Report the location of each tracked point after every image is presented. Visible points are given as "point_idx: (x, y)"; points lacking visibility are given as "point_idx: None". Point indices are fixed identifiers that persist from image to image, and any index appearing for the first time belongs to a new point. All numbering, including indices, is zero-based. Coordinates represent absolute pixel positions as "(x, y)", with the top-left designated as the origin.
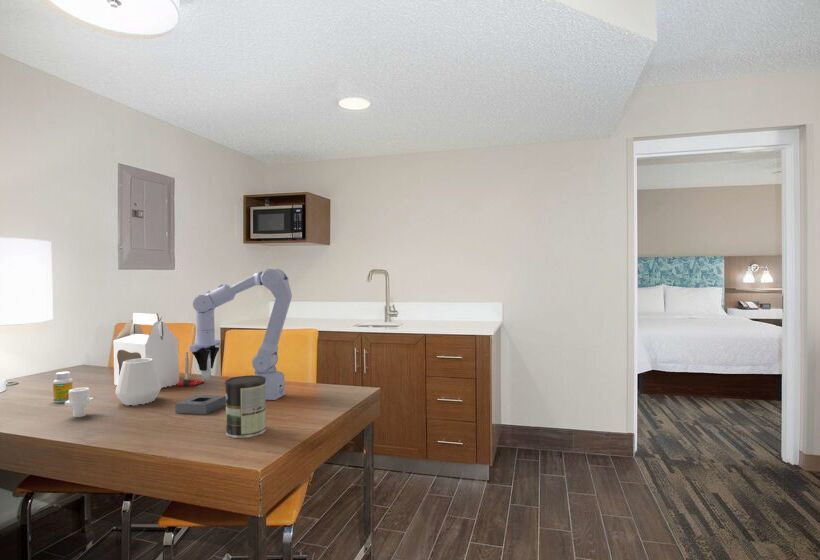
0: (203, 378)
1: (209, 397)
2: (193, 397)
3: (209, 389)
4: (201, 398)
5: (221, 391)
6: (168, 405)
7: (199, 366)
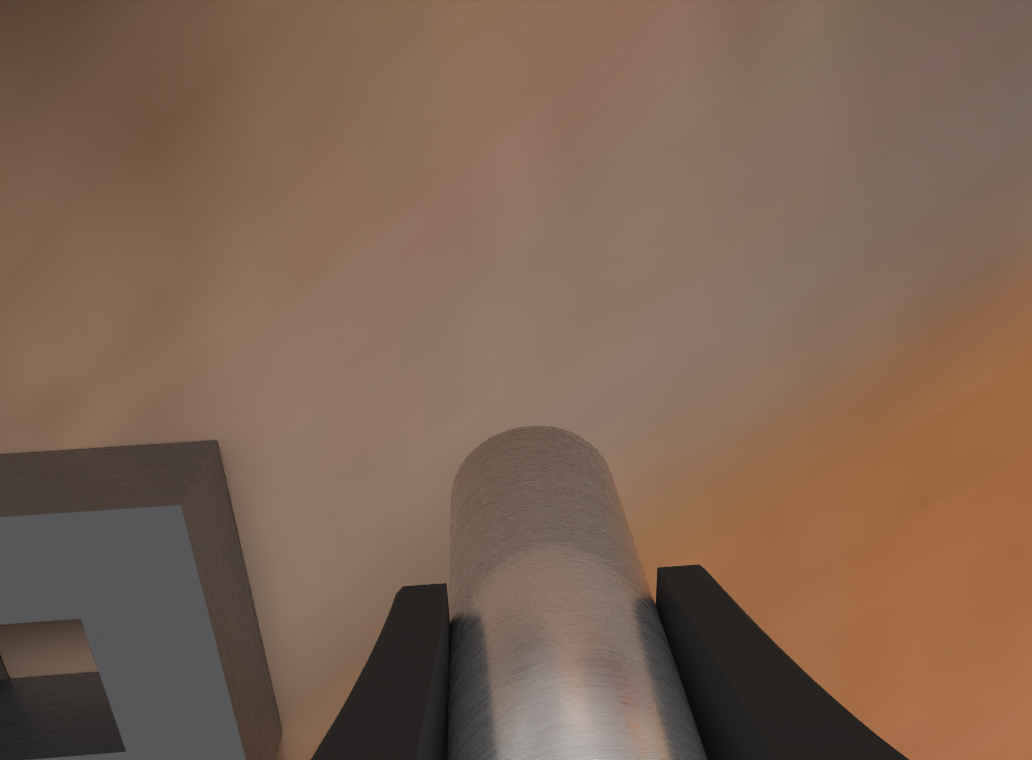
0: (452, 517)
1: (136, 714)
2: (49, 551)
3: (997, 60)
4: (92, 635)
5: (863, 326)
6: (6, 104)
7: (376, 665)
